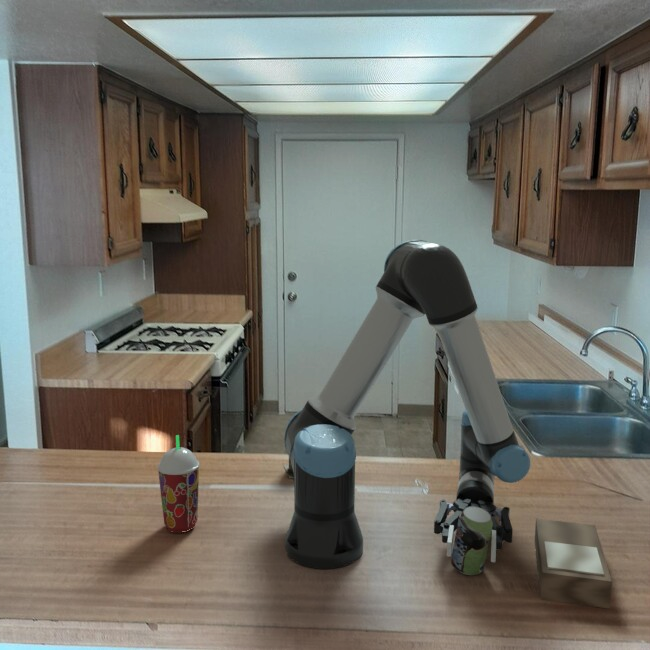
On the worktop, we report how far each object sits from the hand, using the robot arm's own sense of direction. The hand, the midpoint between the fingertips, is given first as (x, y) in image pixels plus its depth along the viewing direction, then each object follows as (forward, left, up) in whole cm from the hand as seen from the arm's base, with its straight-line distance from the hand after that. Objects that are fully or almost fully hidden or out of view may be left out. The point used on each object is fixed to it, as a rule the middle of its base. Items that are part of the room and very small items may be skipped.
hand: (471, 552), depth 117 cm
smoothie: (-59, +7, -7) cm, 60 cm away
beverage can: (0, +5, -7) cm, 8 cm away
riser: (+17, +9, -6) cm, 21 cm away
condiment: (-43, +41, -7) cm, 60 cm away
